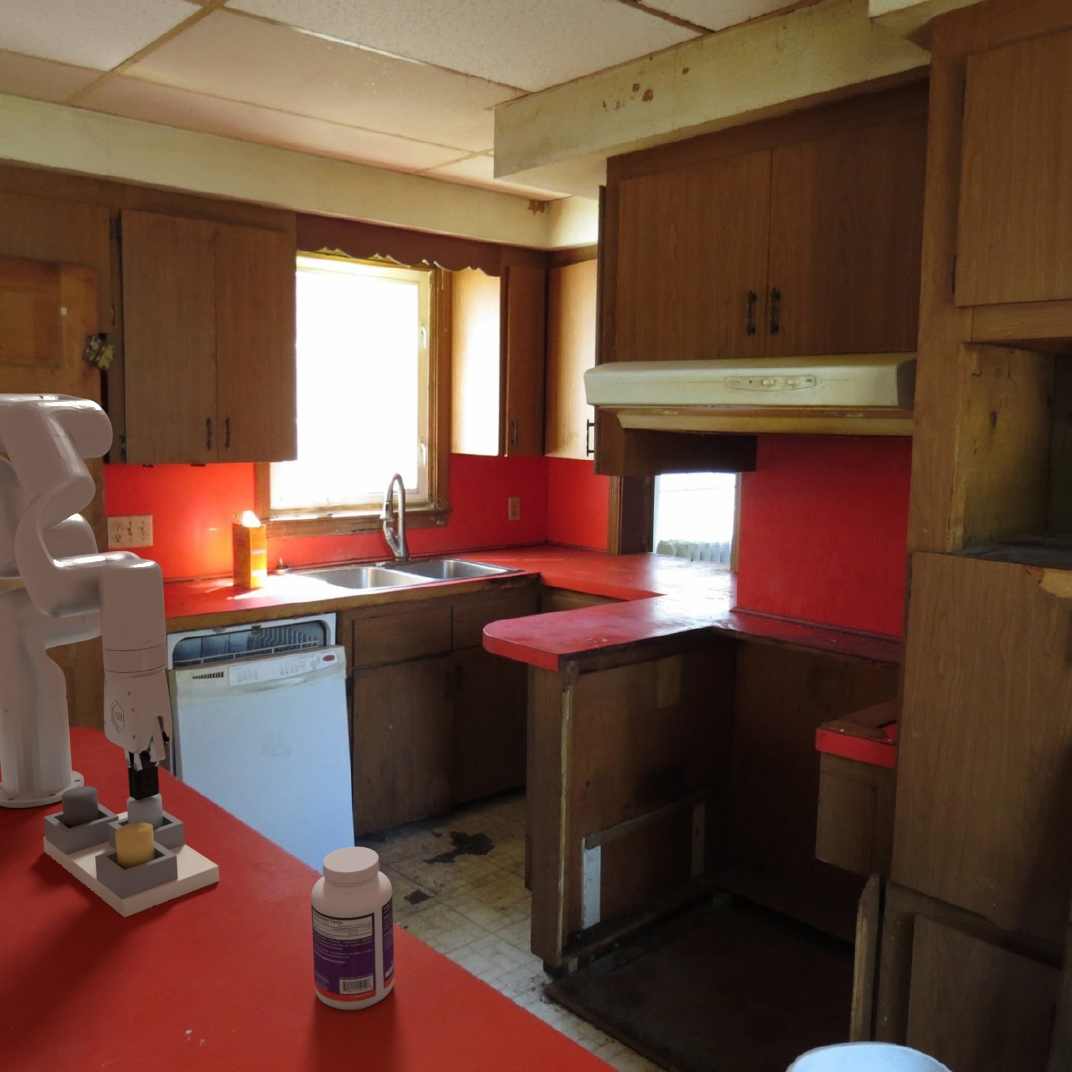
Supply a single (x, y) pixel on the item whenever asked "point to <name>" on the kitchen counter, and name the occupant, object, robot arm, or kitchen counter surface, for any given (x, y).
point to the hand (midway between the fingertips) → (144, 795)
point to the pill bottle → (352, 930)
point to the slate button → (146, 810)
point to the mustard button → (134, 844)
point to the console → (137, 887)
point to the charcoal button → (80, 806)
